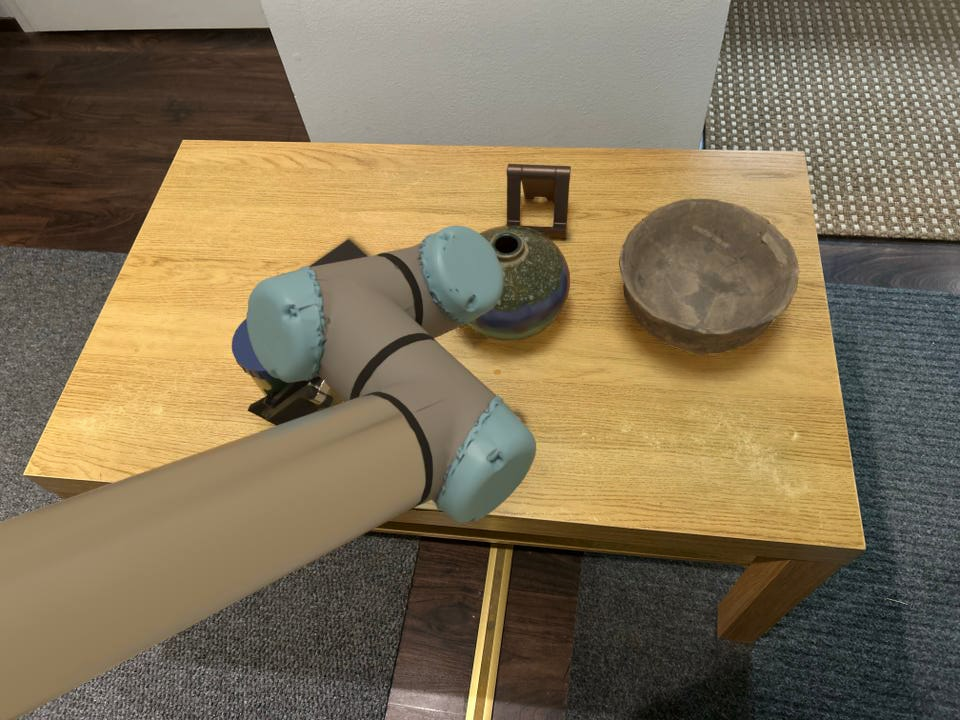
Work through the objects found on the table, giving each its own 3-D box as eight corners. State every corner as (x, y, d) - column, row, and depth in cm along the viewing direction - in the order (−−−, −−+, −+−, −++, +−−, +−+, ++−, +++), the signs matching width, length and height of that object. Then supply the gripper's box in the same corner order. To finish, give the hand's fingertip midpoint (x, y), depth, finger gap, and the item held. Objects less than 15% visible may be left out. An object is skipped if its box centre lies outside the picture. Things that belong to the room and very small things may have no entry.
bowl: (623, 241, 97) (630, 189, 88) (776, 259, 93) (799, 206, 85) (603, 364, 87) (609, 319, 78) (774, 390, 83) (800, 345, 74)
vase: (454, 269, 97) (441, 201, 85) (563, 261, 96) (566, 191, 85) (454, 362, 89) (441, 300, 77) (574, 354, 88) (578, 291, 76)
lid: (264, 394, 70) (258, 386, 69) (223, 347, 74) (216, 338, 72) (328, 346, 73) (324, 337, 71) (286, 303, 76) (280, 293, 75)
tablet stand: (504, 237, 99) (500, 195, 92) (510, 197, 103) (508, 154, 96) (565, 241, 98) (567, 198, 91) (569, 200, 102) (571, 156, 95)
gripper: (371, 439, 61) (267, 475, 78) (433, 262, 71) (329, 327, 88) (298, 400, 58) (206, 446, 74) (374, 220, 68) (278, 296, 84)
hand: (273, 382), depth 81 cm, fingers closed on jar, 8 cm apart
